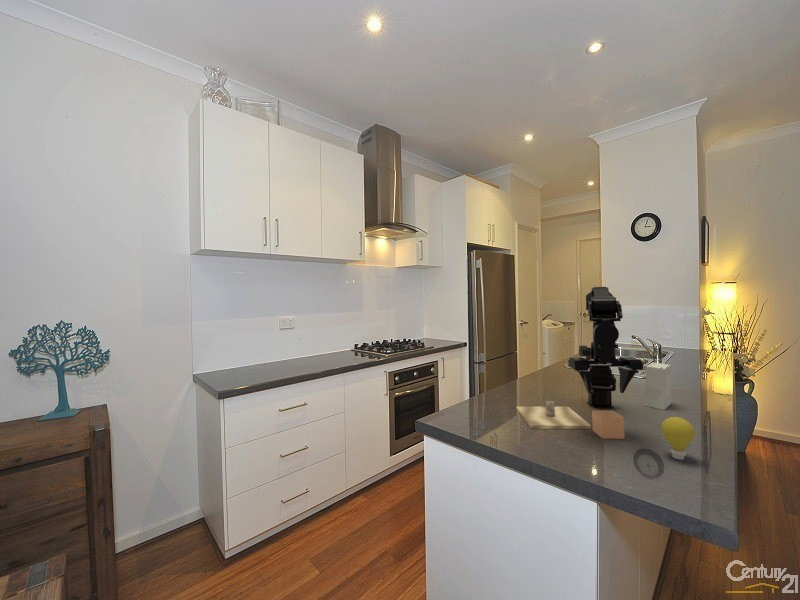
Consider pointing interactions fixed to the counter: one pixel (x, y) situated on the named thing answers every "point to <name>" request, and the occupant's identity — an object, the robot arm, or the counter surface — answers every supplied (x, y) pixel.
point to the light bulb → (678, 435)
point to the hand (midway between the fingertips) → (605, 392)
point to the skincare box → (658, 385)
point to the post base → (552, 417)
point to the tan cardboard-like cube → (608, 424)
